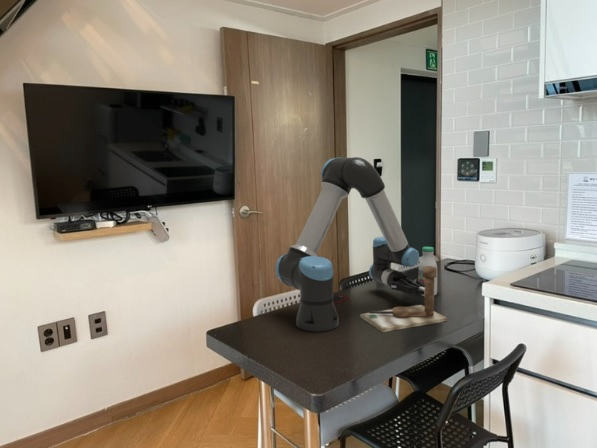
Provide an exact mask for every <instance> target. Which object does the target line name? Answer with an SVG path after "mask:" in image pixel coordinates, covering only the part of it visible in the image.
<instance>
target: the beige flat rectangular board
mask: <svg viewBox="0 0 597 448" xmlns="http://www.w3.org/2000/svg"><path fill="white" fill-rule="evenodd" d="M405 307H406V308H408V309H409V310H425V305H422V304H415V305H411V306H405ZM383 311H393V308H391V309H385V310H383ZM359 316H360V318H361V319H362V320H363V321H365V322H367V323H368V324H370V325H371V326H372V327H373V328H375V329H377V330H378V331H380V332H381V333H387V332H391V331H397V330H403V329H409V328H415V327H421V326H426V325H434V324H439V323H444V321H445V322H448V317H446V316H445V315H443V314H441V313H438V312H436V311H435V310H434V315H433V316H415V315H408V316H407V317H396V316H394V315H393V314H370V312H366V313H360V315H359Z"/></svg>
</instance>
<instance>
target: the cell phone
mask: <svg viewBox="0 0 597 448" xmlns="http://www.w3.org/2000/svg"><path fill="white" fill-rule="evenodd" d="M349 298H350V297H349V296H346V295H345V296H344V295H341V294H336V293H333V303H334V306H335V305H337V304H339V303H341V302H344V301H347V300H349Z"/></svg>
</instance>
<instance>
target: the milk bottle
mask: <svg viewBox="0 0 597 448" xmlns="http://www.w3.org/2000/svg"><path fill="white" fill-rule="evenodd" d="M421 250H422V251H421V252H422V257H421V259H420V260H419V262H418V263H419V264H418V276H417V277H418V278H417V279H419V280H420V281H421V282H422V283H424V284H425V277H423V267H425V266H432V267H436V268H437V269H438V264H437V262H436V260H435V257H434V253H435V248H434V247H432V246H423V247H422V249H421ZM437 294H438V276H437V277H435V278H434V296H436V295H437Z"/></svg>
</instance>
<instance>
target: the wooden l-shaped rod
mask: <svg viewBox="0 0 597 448" xmlns="http://www.w3.org/2000/svg"><path fill="white" fill-rule="evenodd" d="M423 277H425V297H424V307H425V310H409V309H408V308H406V307H407V306H394V307H392V309H393V311H384V310H377V311H375V310H373V311H371V310H370V311H369V313H370V314H393V315H394V316H396V317H407V316H408V315H415V316H433V315H434V311H435V295H434V278H435V277H437V278H438V267H437V268H436V267H432V266H425V267H423Z"/></svg>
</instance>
